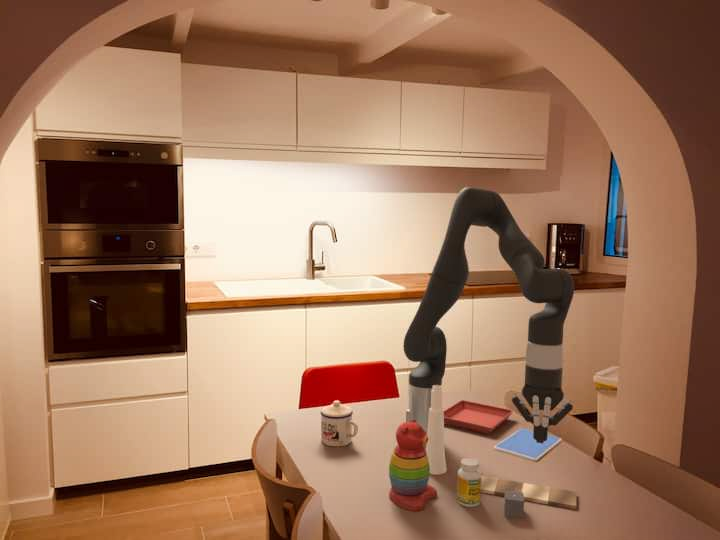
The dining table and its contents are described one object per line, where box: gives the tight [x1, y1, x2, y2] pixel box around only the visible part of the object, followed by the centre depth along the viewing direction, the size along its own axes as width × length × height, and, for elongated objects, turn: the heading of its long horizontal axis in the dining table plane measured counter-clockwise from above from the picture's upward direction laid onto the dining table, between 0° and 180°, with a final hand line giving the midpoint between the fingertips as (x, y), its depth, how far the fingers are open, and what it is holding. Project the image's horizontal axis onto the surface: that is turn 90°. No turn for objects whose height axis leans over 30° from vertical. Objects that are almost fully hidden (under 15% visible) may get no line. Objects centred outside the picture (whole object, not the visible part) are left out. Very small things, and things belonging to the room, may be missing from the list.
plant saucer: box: [444, 399, 514, 435], centre depth 183 cm, size 18×18×3 cm
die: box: [503, 490, 525, 519], centre depth 129 cm, size 4×4×4 cm
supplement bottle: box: [456, 457, 482, 508], centre depth 133 cm, size 5×5×10 cm
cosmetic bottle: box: [425, 385, 448, 476], centre depth 148 cm, size 6×6×22 cm
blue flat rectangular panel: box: [494, 427, 562, 462], centre depth 167 cm, size 19×13×1 cm, turn 141°
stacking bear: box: [388, 419, 438, 512], centre depth 134 cm, size 11×10×18 cm
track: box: [481, 475, 577, 510], centre depth 138 cm, size 24×7×1 cm, turn 69°
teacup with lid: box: [320, 400, 359, 447], centre depth 166 cm, size 12×9×12 cm
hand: (540, 441), depth 126 cm, fingers closed
